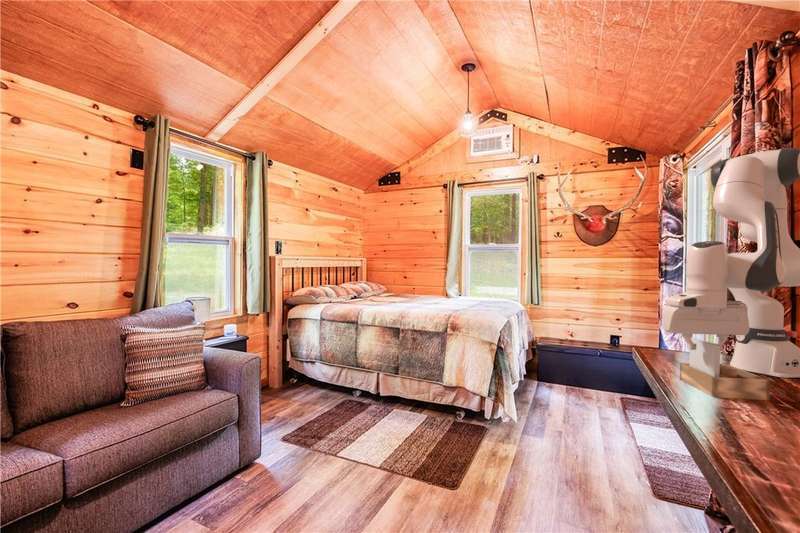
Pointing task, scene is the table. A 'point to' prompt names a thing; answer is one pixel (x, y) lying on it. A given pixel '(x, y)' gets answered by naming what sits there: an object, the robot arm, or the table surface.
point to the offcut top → (727, 371)
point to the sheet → (705, 357)
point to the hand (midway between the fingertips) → (704, 350)
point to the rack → (727, 384)
